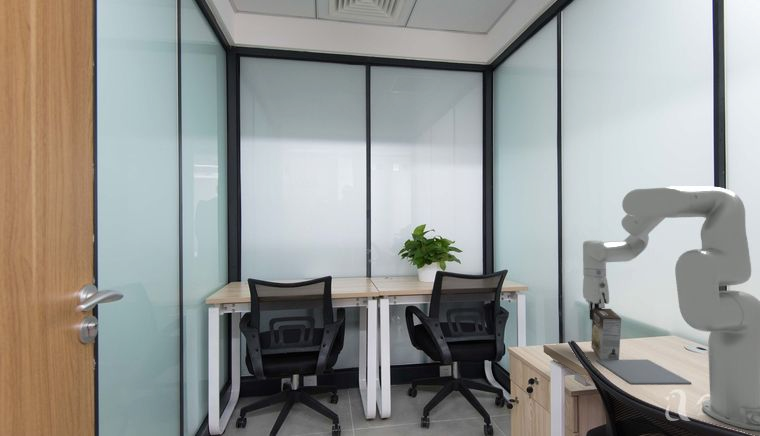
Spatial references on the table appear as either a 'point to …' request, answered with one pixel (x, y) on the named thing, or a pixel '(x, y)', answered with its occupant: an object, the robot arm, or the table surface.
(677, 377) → the rubber mat
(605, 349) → the coffee box
